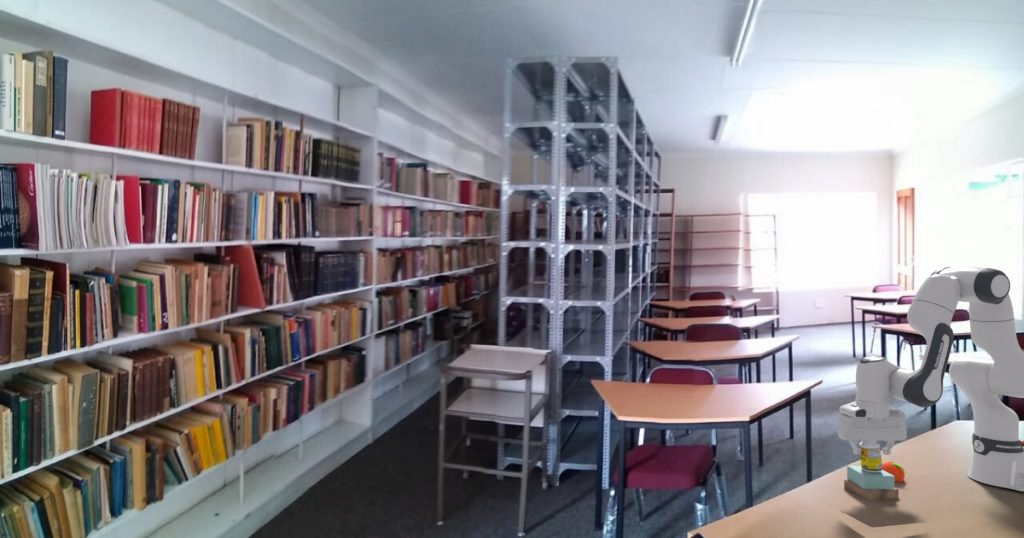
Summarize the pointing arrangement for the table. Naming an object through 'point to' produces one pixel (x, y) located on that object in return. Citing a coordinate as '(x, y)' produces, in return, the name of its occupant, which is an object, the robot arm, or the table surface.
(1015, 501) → the table surface
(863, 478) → the teal block
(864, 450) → the supplement bottle
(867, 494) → the walnut block
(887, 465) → the clementine
